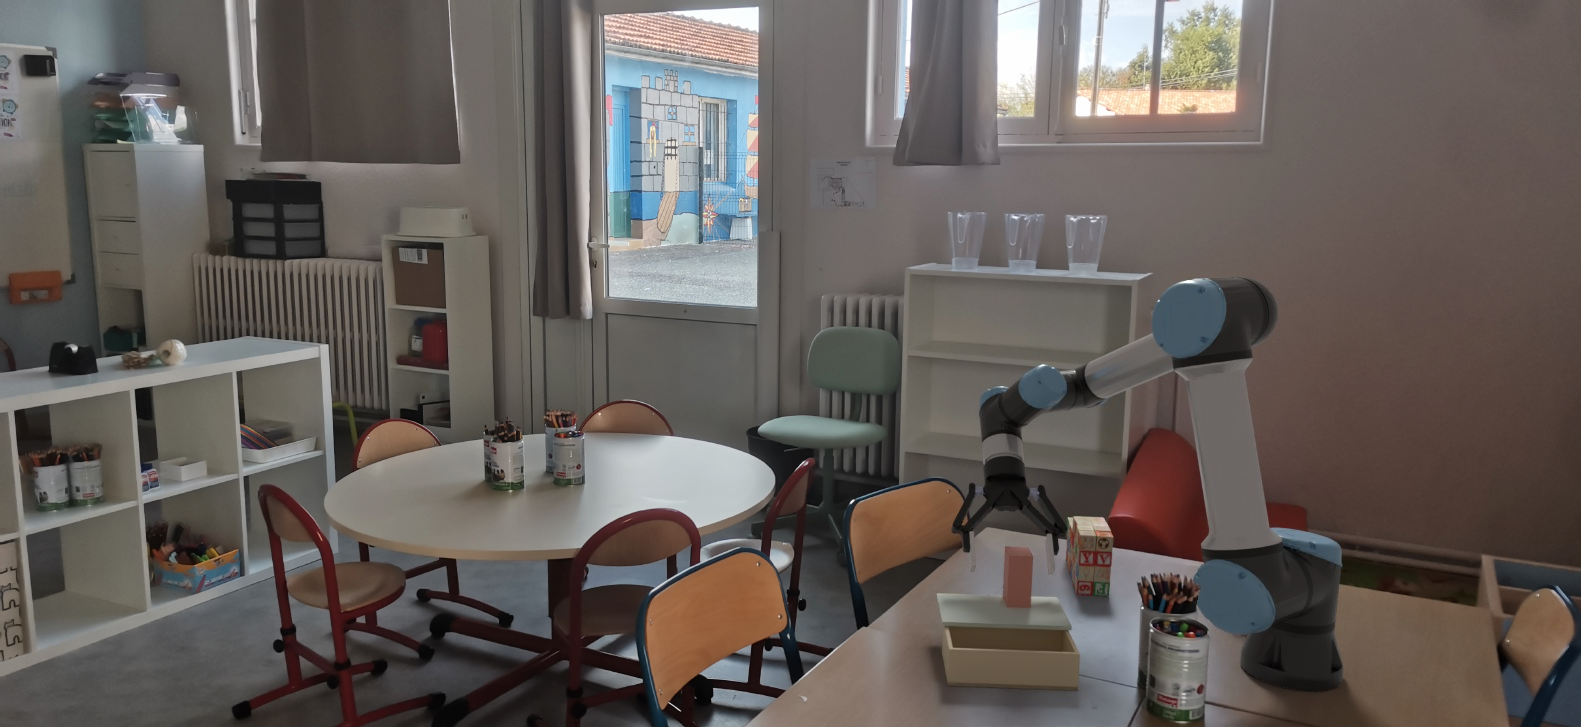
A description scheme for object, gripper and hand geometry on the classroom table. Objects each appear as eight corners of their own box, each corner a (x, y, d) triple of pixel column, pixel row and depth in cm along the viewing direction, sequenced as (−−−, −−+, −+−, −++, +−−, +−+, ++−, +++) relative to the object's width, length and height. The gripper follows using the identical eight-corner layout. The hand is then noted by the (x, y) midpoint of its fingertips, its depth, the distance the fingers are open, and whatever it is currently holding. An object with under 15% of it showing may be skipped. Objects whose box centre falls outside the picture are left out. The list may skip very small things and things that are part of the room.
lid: (1056, 600, 188) (1059, 547, 186) (1071, 630, 175) (1074, 572, 174) (936, 596, 189) (938, 543, 188) (942, 625, 176) (944, 568, 175)
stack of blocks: (1064, 559, 229) (1067, 502, 227) (1095, 560, 228) (1098, 504, 226) (1076, 595, 208) (1079, 533, 206) (1110, 597, 207) (1113, 535, 205)
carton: (1063, 657, 179) (1065, 623, 179) (1077, 690, 168) (1080, 653, 167) (941, 653, 181) (943, 619, 180) (947, 685, 169) (949, 649, 168)
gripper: (1068, 476, 203) (1080, 581, 191) (934, 472, 204) (938, 576, 192) (1075, 455, 197) (1089, 562, 185) (937, 451, 198) (942, 558, 186)
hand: (1012, 569), depth 188 cm, fingers open, 13 cm apart
